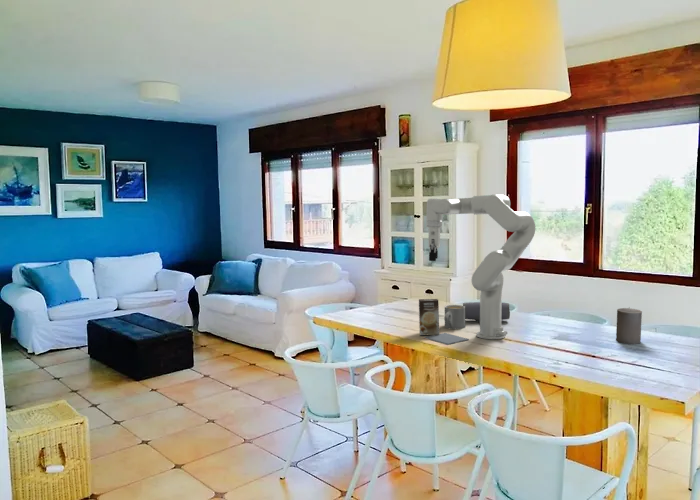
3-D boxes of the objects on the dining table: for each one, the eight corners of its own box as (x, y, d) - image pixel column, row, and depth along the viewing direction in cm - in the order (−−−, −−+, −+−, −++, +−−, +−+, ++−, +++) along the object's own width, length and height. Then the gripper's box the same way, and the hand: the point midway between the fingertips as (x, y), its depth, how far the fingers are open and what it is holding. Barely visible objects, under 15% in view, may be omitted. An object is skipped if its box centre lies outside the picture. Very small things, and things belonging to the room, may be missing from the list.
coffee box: (419, 335, 256) (418, 301, 255) (419, 332, 262) (418, 299, 262) (440, 334, 255) (438, 300, 254) (439, 332, 261) (437, 298, 261)
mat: (468, 340, 247) (468, 338, 247) (448, 344, 240) (448, 343, 240) (445, 333, 259) (445, 332, 259) (424, 338, 252) (424, 337, 252)
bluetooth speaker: (506, 319, 288) (506, 300, 288) (510, 323, 279) (510, 303, 278) (462, 319, 291) (462, 300, 290) (464, 323, 282) (464, 303, 281)
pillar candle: (610, 339, 243) (611, 306, 242) (627, 337, 247) (628, 304, 245) (629, 345, 234) (630, 310, 233) (646, 342, 237) (647, 308, 236)
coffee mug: (454, 323, 281) (454, 304, 280) (469, 326, 273) (469, 306, 272) (435, 327, 273) (435, 307, 272) (450, 331, 265) (450, 310, 264)
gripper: (440, 225, 258) (439, 262, 260) (443, 223, 275) (442, 257, 277) (424, 225, 260) (423, 261, 262) (428, 223, 277) (427, 257, 278)
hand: (433, 259), depth 269 cm, fingers open, 9 cm apart
